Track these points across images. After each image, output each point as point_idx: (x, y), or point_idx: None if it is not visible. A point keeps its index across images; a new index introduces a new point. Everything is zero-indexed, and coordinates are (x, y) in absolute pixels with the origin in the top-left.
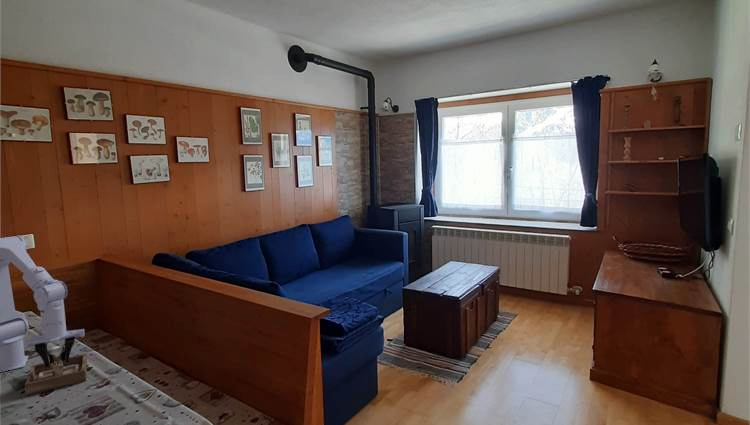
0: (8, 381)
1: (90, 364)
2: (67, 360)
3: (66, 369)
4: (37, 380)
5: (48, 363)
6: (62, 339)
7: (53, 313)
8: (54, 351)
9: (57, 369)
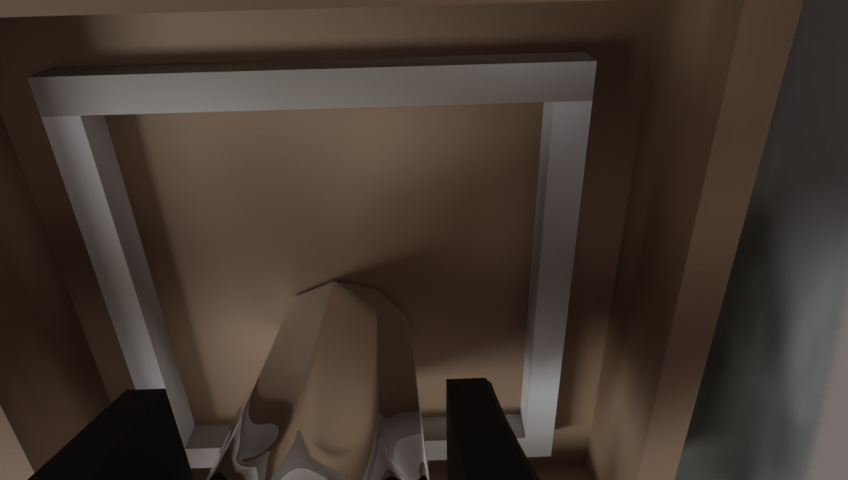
0: (795, 463)
1: None
2: (117, 415)
3: None
4: (568, 315)
5: (449, 451)
6: None
7: None
8: None
9: (335, 347)
